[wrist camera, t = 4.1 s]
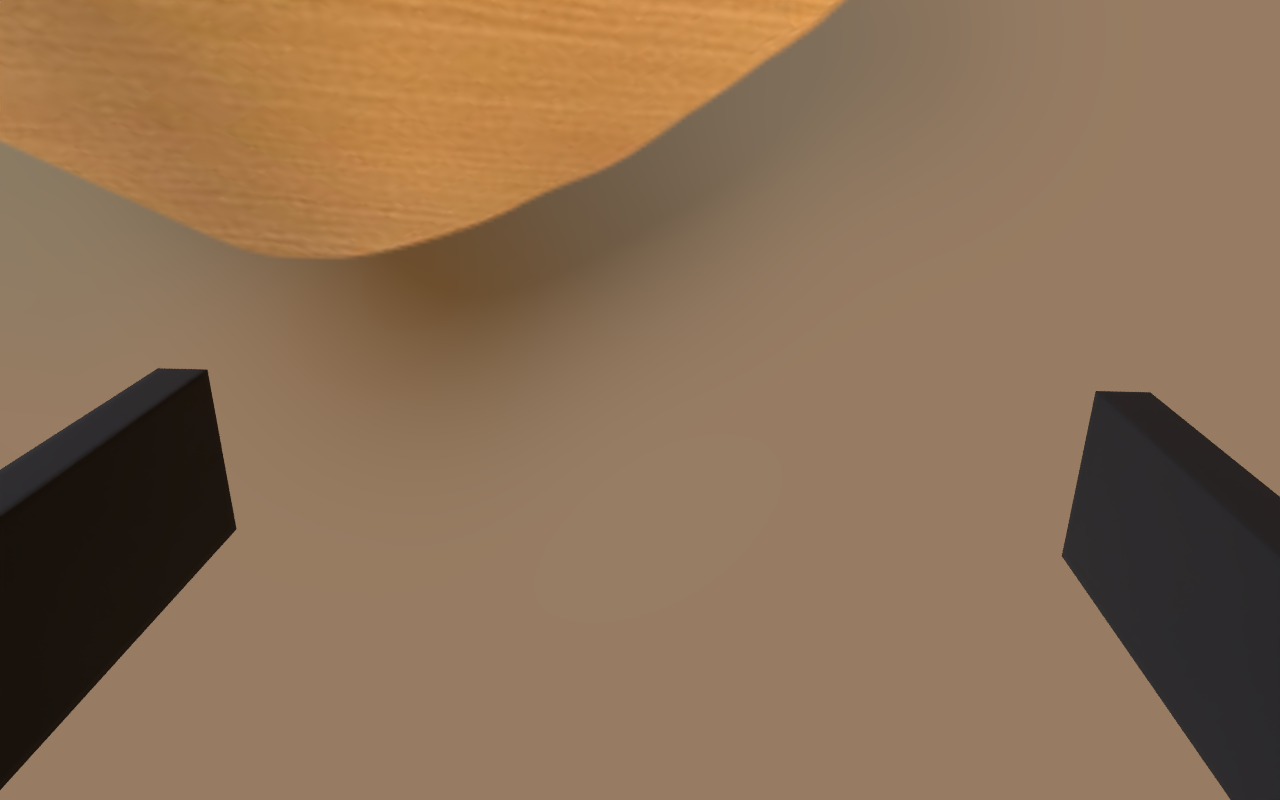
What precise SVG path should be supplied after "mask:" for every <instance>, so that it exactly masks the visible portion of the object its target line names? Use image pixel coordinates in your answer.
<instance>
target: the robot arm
mask: <svg viewBox="0 0 1280 800" xmlns="http://www.w3.org/2000/svg"><path fill="white" fill-rule="evenodd" d="M235 530H236V525H235V519H234V513H233V508H232V502H231V497H230V492H229V486H228V480H227V475H226V470H225V464H224V459H223V453H222V448H221V442H220V436H219V431H218V425H217V420H216V414H215V409H214V403H213V398H212V392H211V387H210V382H209V376H208V370H201V369H199V370H198V369H160V368H158V369H156V370H155V371H153V372H152V373H150V374H149V375H147V376H145V377H144V378H142V379H141V380H139V381H138V382H136V383H135V384H133V385H132V386H130V387H128V388H127V389H125V390H124V391H122V392H121V393H119V394H118V395H116V396H114V397H113V398H111V399H110V400H108V401H107V402H105V403H104V404H102V405H100V406H99V407H97V408H96V409H94V410H93V411H91V412H89V413H88V414H86V415H85V416H83V417H82V418H80V419H79V420H77V421H75V422H74V423H72V424H71V425H69V426H68V427H66V428H65V429H63V430H62V431H60V432H58V433H57V434H55V435H54V436H52V437H51V438H49V439H47V440H46V441H44V442H43V443H41V444H40V445H38V446H37V447H35V448H34V449H32V450H30V451H29V452H27V453H26V454H24V455H23V456H21V457H19V458H18V459H16V460H15V461H13V462H12V463H10V464H9V465H7V466H5V467H4V468H2V469H1V470H0V790H1V789H2V788H3V786H4V785H5V784H6V783H7V782H8V781H9V780H10V779H11V778H12V776H13V775H14V774H15V773H16V772H17V771H18V770H19V769H20V768H21V767H22V766H23V764H24V763H25V762H26V761H27V760H28V759H29V758H30V756H31V755H32V754H33V753H34V752H35V751H36V750H37V749H38V748H39V747H40V746H41V744H42V743H43V742H44V741H45V740H46V739H47V738H48V737H49V736H50V735H51V733H52V732H53V731H54V730H55V729H56V728H57V727H58V726H59V725H60V724H61V722H62V721H63V720H64V719H65V718H66V717H67V716H68V715H69V714H70V712H71V711H72V710H73V709H74V708H75V707H76V706H77V705H78V704H79V703H80V701H81V700H82V699H83V698H84V697H85V696H86V695H87V694H88V692H89V691H90V690H91V689H92V688H93V687H94V686H95V685H96V684H97V683H98V681H99V680H100V679H101V678H102V677H103V676H104V675H105V674H106V673H107V671H108V670H109V669H110V668H111V667H112V666H113V665H114V664H115V663H116V662H117V660H118V659H119V658H120V657H121V656H122V655H123V654H124V653H125V652H126V650H127V649H128V648H129V647H130V646H131V645H132V644H133V643H134V642H135V641H136V639H137V638H138V637H139V636H140V635H141V634H142V633H143V632H144V630H146V629H147V627H148V626H149V625H150V624H151V623H152V622H153V621H154V620H155V618H156V617H157V616H158V615H159V614H160V613H161V612H162V611H163V610H164V609H165V607H166V606H167V605H168V604H169V603H170V602H171V601H172V600H173V599H174V597H175V596H176V595H177V594H178V593H179V592H180V591H181V590H182V589H183V588H184V587H185V585H186V584H187V583H188V582H189V581H190V580H191V579H192V578H193V576H194V575H195V574H196V573H197V572H198V571H199V570H200V569H201V568H202V567H203V566H204V564H205V563H206V562H207V561H208V560H209V559H210V558H211V557H212V555H213V554H214V553H215V552H216V551H217V550H218V549H219V548H220V547H221V545H223V543H224V542H225V541H226V540H227V539H228V538H229V537H230V536H231V535H232V533H233V532H234V531H235ZM1062 557H1063V558H1064V560H1065V561H1066V563H1067V564H1068V566H1069V567H1070V569H1071V570H1072V571H1073V573H1074V574H1075V576H1076V577H1077V579H1078V580H1079V581H1080V583H1081V584H1082V586H1083V587H1084V589H1085V590H1086V591H1087V593H1088V594H1089V595H1090V597H1091V599H1092V600H1093V602H1094V603H1095V604H1096V606H1097V607H1098V609H1099V610H1100V612H1101V613H1102V615H1103V616H1104V617H1105V619H1106V620H1107V622H1108V623H1109V625H1110V626H1111V628H1112V629H1113V631H1114V632H1115V633H1116V635H1117V636H1118V638H1119V639H1120V641H1121V642H1122V643H1123V645H1124V646H1125V648H1126V649H1127V651H1128V652H1129V654H1130V655H1131V656H1132V658H1133V659H1134V661H1135V662H1136V664H1137V665H1138V667H1139V668H1140V669H1141V671H1142V672H1143V674H1144V675H1145V677H1146V678H1147V680H1148V681H1149V682H1150V684H1151V685H1152V687H1153V688H1154V689H1155V691H1156V693H1157V694H1158V696H1159V697H1160V698H1161V700H1162V701H1163V703H1164V704H1165V705H1166V707H1167V708H1168V710H1169V711H1170V713H1171V714H1172V716H1173V717H1174V719H1175V720H1176V721H1177V723H1178V724H1179V726H1180V727H1181V729H1182V730H1183V732H1184V733H1185V734H1186V736H1187V737H1188V739H1189V740H1190V742H1191V743H1192V744H1193V746H1194V747H1195V749H1196V750H1197V752H1198V753H1199V755H1200V756H1201V758H1202V759H1203V760H1204V762H1205V763H1206V765H1207V766H1208V768H1209V769H1210V771H1211V772H1212V773H1213V775H1214V776H1215V778H1216V779H1217V781H1218V782H1219V783H1220V785H1221V786H1222V788H1223V789H1224V791H1225V792H1226V794H1227V795H1228V797H1229V798H1230V799H1231V800H1280V497H1279V496H1278V495H1277V494H1275V493H1274V492H1273V491H1272V490H1270V489H1269V488H1268V487H1267V486H1266V485H1264V484H1263V483H1262V482H1261V481H1259V480H1258V479H1257V478H1256V477H1254V476H1253V475H1252V474H1251V473H1249V472H1248V471H1247V470H1246V469H1244V468H1243V467H1242V466H1241V465H1239V464H1238V463H1237V462H1236V461H1235V460H1233V459H1232V458H1231V457H1230V456H1228V455H1227V454H1226V453H1224V452H1223V451H1222V450H1221V449H1220V448H1218V447H1217V446H1216V445H1215V444H1213V443H1212V442H1211V441H1210V440H1208V439H1207V438H1206V437H1205V436H1204V435H1202V434H1201V433H1200V432H1198V431H1197V430H1196V429H1195V428H1194V427H1192V426H1191V425H1190V424H1189V423H1187V422H1186V421H1185V420H1184V419H1182V418H1181V417H1180V416H1178V415H1177V414H1176V413H1175V412H1174V411H1172V410H1171V409H1170V408H1169V407H1168V406H1166V405H1165V404H1164V403H1163V402H1161V401H1160V400H1159V399H1158V398H1156V397H1155V396H1154V395H1153V394H1151V393H1149V392H1148V393H1147V392H1110V391H1108V392H1107V391H1096V392H1095V397H1094V402H1093V407H1092V412H1091V417H1090V422H1089V427H1088V432H1087V436H1086V441H1085V446H1084V451H1083V456H1082V461H1081V465H1080V470H1079V475H1078V480H1077V485H1076V490H1075V495H1074V500H1073V504H1072V510H1071V514H1070V519H1069V524H1068V529H1067V534H1066V539H1065V543H1064V548H1063V553H1062Z"/></svg>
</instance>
